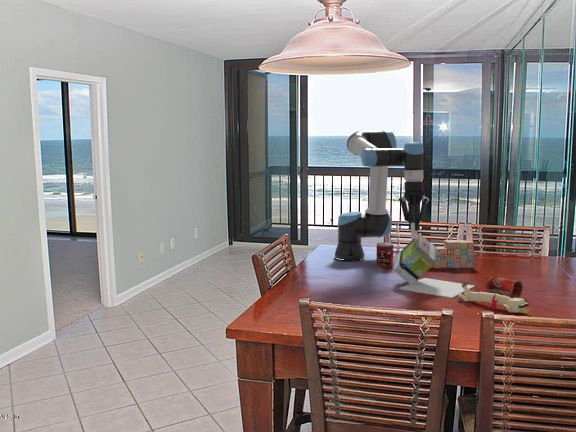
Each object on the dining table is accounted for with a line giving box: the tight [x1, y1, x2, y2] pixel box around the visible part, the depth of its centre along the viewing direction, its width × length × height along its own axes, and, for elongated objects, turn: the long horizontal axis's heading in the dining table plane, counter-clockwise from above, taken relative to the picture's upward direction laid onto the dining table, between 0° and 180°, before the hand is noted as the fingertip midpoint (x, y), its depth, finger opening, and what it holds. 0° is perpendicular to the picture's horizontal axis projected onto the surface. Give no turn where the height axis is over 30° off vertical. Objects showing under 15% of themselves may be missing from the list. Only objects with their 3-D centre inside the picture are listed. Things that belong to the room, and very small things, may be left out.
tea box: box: [393, 233, 437, 285], centre depth 228 cm, size 15×10×15 cm
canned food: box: [375, 241, 394, 269], centre depth 262 cm, size 8×8×11 cm
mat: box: [398, 277, 476, 299], centre depth 222 cm, size 22×22×1 cm
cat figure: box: [457, 280, 531, 314], centre depth 195 cm, size 10×9×25 cm
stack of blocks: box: [429, 239, 475, 269], centre depth 260 cm, size 21×6×12 cm, turn 89°
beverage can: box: [485, 276, 524, 298], centre depth 210 cm, size 7×12×7 cm, turn 38°
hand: (414, 238), depth 227 cm, fingers closed
